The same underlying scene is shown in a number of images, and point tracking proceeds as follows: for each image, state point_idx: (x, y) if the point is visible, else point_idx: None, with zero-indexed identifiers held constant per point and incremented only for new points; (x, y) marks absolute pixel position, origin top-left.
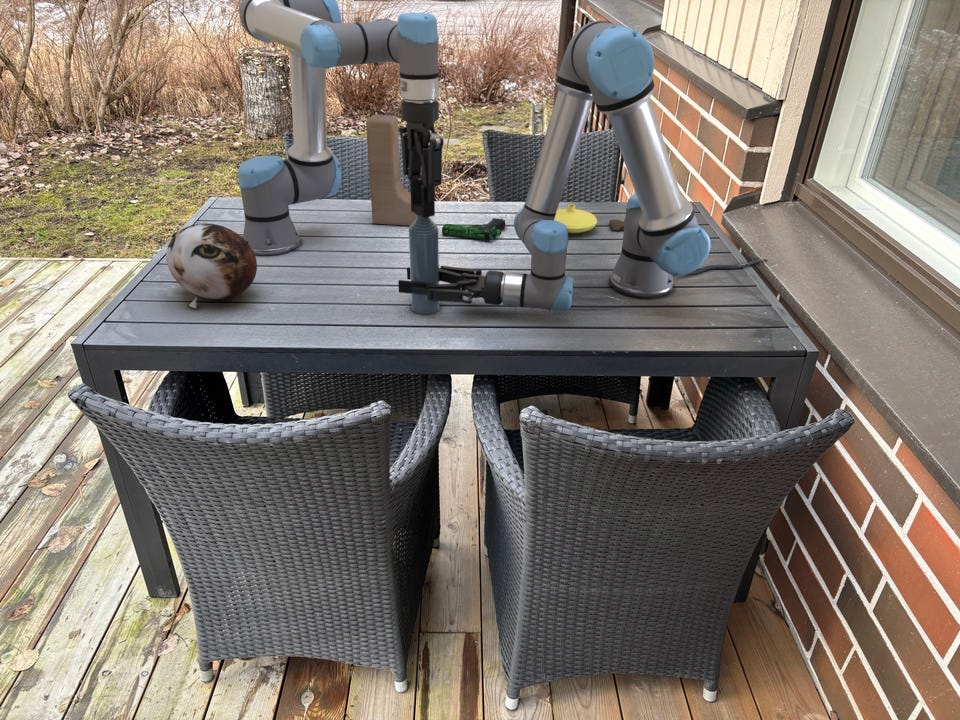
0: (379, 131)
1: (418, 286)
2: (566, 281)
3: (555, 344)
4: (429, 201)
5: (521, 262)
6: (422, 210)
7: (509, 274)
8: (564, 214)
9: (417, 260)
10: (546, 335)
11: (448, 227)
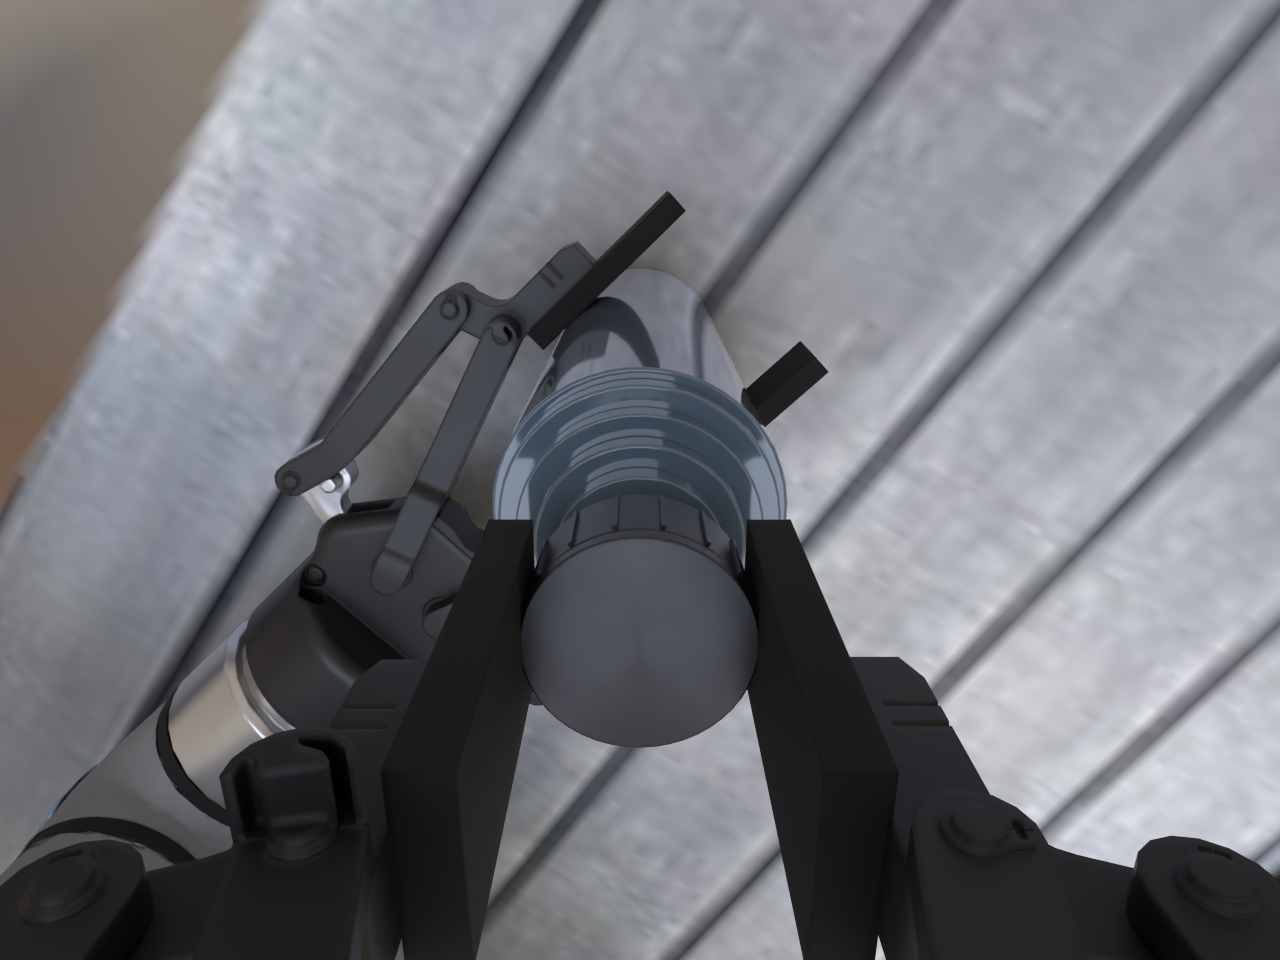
0: None
1: (560, 286)
2: None
3: (18, 616)
4: (362, 678)
5: (782, 953)
6: (513, 556)
7: None
8: None
9: (580, 335)
10: (107, 635)
11: None
